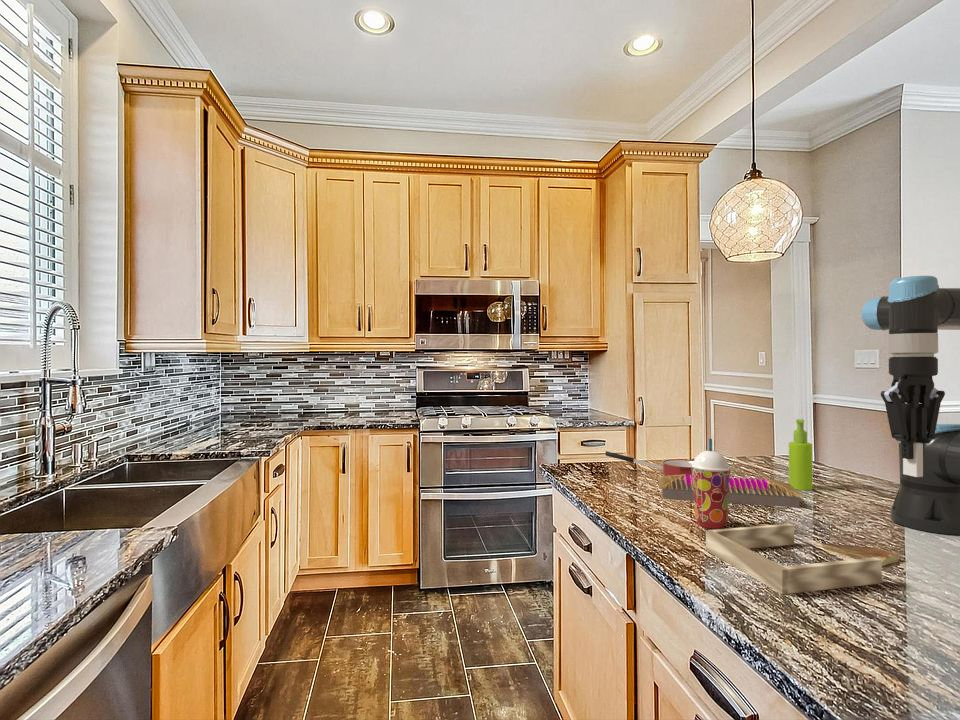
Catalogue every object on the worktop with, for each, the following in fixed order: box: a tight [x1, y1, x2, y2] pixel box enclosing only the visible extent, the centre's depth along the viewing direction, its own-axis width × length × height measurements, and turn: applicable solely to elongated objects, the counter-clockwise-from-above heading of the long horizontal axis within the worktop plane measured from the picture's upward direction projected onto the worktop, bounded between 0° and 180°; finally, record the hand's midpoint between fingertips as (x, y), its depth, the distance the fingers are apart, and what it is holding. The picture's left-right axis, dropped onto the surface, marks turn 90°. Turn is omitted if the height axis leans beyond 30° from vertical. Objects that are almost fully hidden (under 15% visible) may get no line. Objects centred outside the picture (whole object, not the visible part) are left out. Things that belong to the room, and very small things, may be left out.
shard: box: [820, 542, 901, 567], centre depth 104 cm, size 11×8×2 cm
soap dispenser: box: [788, 418, 813, 491], centre depth 156 cm, size 6×7×20 cm
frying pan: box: [605, 451, 695, 479], centre depth 176 cm, size 32×13×6 cm, turn 68°
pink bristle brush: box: [657, 474, 805, 509], centre depth 147 cm, size 35×14×6 cm, turn 73°
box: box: [705, 522, 883, 595], centre depth 99 cm, size 20×20×4 cm
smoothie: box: [691, 438, 732, 530], centre depth 123 cm, size 8×8×20 cm
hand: (912, 475), depth 104 cm, fingers closed
